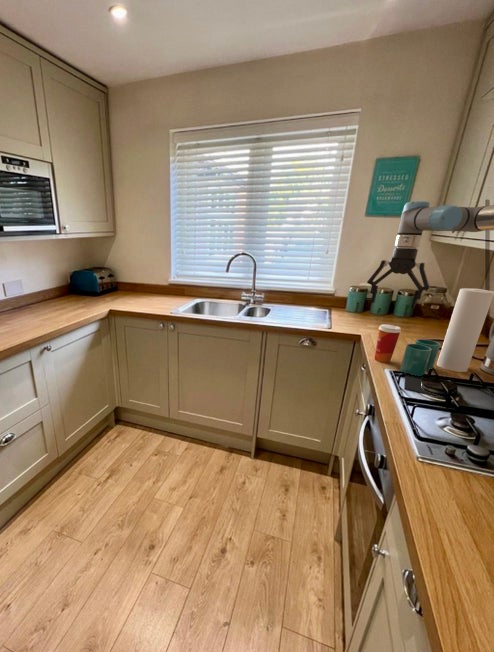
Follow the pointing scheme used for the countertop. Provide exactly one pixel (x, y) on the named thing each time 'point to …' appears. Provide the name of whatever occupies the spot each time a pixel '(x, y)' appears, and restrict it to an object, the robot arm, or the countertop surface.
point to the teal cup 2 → (434, 351)
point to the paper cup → (386, 342)
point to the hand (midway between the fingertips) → (392, 305)
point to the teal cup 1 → (415, 359)
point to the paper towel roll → (464, 329)
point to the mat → (415, 386)
